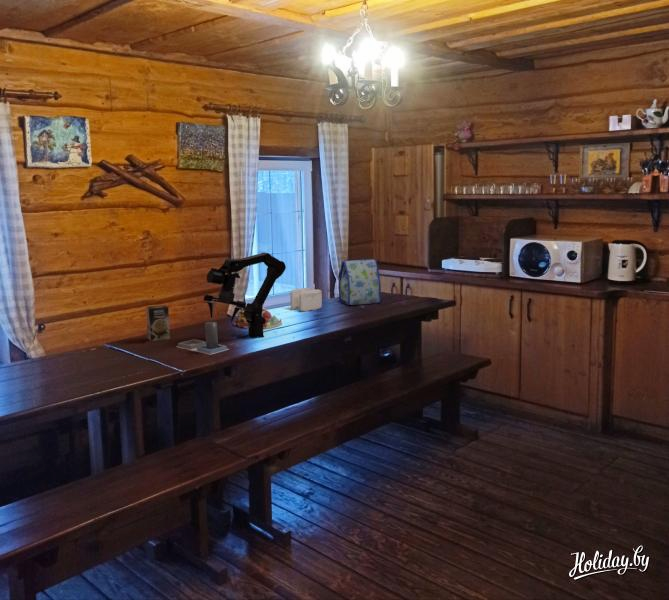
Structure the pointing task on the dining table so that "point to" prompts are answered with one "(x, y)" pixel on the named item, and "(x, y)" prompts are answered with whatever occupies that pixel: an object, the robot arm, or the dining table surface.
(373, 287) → the lunch bag
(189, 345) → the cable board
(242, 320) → the candy landscape model
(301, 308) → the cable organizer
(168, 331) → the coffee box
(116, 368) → the dining table surface
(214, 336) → the grey cylinder
